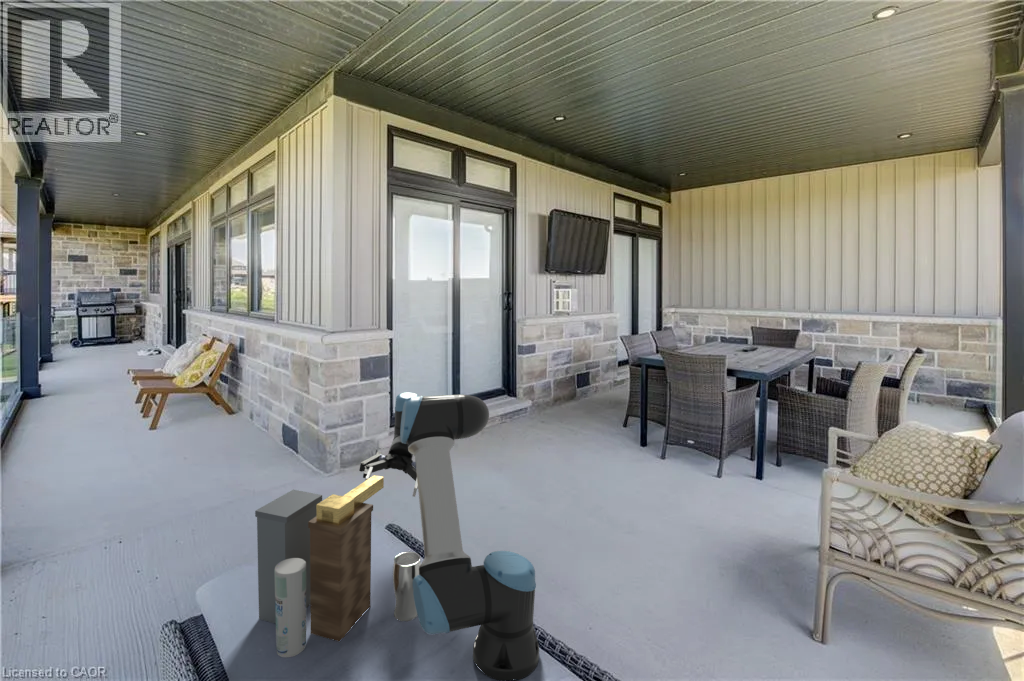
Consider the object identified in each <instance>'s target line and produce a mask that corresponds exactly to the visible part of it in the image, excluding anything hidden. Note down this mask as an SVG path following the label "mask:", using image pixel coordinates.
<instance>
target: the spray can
mask: <svg viewBox="0 0 1024 681" xmlns="http://www.w3.org/2000/svg"><path fill="white" fill-rule="evenodd" d="M274 572H275V615H276V624H275V647H276V648H275V650H276V654H277V655H278V656H279V657H281V658H293V657H295V656H297V655H299V654H301V653H302V652H303V651H304V650H305V648H306V645H307V608H306V562H305V561H304V560H303V559H300V558H290V559H286V560H283V561H281V562H280V563H278V564H277V565H276V566H275V570H274Z"/></svg>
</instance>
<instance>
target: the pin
mask: <svg viewBox="0 0 1024 681" xmlns="http://www.w3.org/2000/svg"><path fill="white" fill-rule="evenodd" d="M384 478H385V477H384V476H381V475H371V477H370V478H369V479H368V480H366V481H365V480H364V481H363V482H362V483H360V484H359V485H357V486H356V487H354V488H352V489H351V490H350V491H348V492H347V493H345V494H343V495H338V494H334V493H333V494H331V495H329V496H328V497H326V498H325V499H322V501H321V502H320V503H318V504H317V505H316V510H317V521H319V522H324V523H329V524H333V525H338V526H339V525H340V524H342V523H343V522H344V521H346V520H347V519H348V518H350V517H351V516H352V515H354V509H355V508H356V507H358V506H359V505H360V504H362V503H365V502H366V501H368V500H369V499H370V498H372V496H374V495H375V494H377V493H378V492H379V491H381V490H382V489H384V487H385V486H384V485H385V483H384V480H385V479H384Z"/></svg>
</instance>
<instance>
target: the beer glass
mask: <svg viewBox="0 0 1024 681" xmlns="http://www.w3.org/2000/svg"><path fill="white" fill-rule="evenodd" d="M421 563H422V562H421V555H420V554H419V553H417V552H414V551H403V552H401V553H398V554H397V555H395V557H394V558H393V566H392V583H393V584H392V586H393V590H394V596H395V606H394V610H393V617H394V619H396V620H397V619H398V620H397V621H399V620H400V621H399V622H403V621H406V622H411V621H413V620H414V619H416V618H417V617H418V615H417V611H416V607H415V601H414V595H413V579H414V577H416V576H417V575H419V566H420V565H421Z"/></svg>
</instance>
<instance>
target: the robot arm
mask: <svg viewBox="0 0 1024 681" xmlns="http://www.w3.org/2000/svg"><path fill="white" fill-rule="evenodd" d="M394 405H395V406H394V428H393V429H394V432H393V433H394V434H393V439H392V442H391V444H390V448H389V450H388V453H387V454H386V455H383V454H382V452H381V451H377V452H376V454H374V455H372V456H370V457H369V458H367V459H365V460H363V461H361V462H360V465H359V469H358V470H359V472H361V473H362V472H363V474H362V478H363V479H364V482H365V481H366V480H368V479H369V478H371V477H372V473H376V472H379V471H381V470H389V469H392V470H399V471H402V472H403V473H405V474H406V475H409V476H410V478H412V479H413V481H415V483H414V488H413V492H412V498H413V497H414V498H416V494H417V492H418V500H419V501H418V502H419V511H420V512H419V513H420V522H421V530H422V531H421V532H422V543H423V551H424V552H423V553H424V559H423V561H422V562H421V565H420V566H419V575H417V576H416V577H414V579H413V595H414V601H415V607H416V611H417V617H418V620H419V624H420V626H421V628H422V630H423V631H424V632H425V633H426V634H428V635H436V634H448V633H450V632H455V631H459V630H464V629H469V628H474V627H479V626H480V627H479V629H478V633H477V635H476V637H475V639H474V641H473V647H472V648H473V649H472V650H473V651H472V659H473V662H474V664H475V663H476V664H477V666H478V667H479V668H480V669H481V670H482V671H483V672H484V673H485V674H484V675H485V676H486V675H487V677H489V678H491V679H494V680H496V681H497V680H498V681H501V680H502V681H503V680H513V679H518V680H521V679H524V678H525V677H528V676H529V675H530V674H532V673H533V672H534V671H535V669H536V668H537V666H538V664H539V660H540V646H539V644H540V643H539V640H538V638H537V634H536V630H535V628H534V614H535V613H534V612H535V598H536V597H535V596H536V594H535V592H536V588H537V582H536V571H535V566H534V565H533V563H532V562H531V560H529V559H528V558H527V557H526V556H524V555H521V554H519V553H516V552H513V551H510V550H509V551H507V550H497V551H492V552H490V553H489V554H487V555H485V558H484V560H483V564H480V565H475V566H472V558H471V556H470V555H469V554H467V553H466V552H465V551H464V549H463V543H462V542H463V541H462V534H461V526H460V518H459V513H458V504H457V497H456V490H455V482H454V475H453V467H452V461H451V453H450V451H451V450H452V448H453V447H454V446H455V440H462V439H467V438H471V437H474V436H475V435H478V434H479V433H480V432H482V431H483V430H484V429H485V427H486V426H487V424H488V422H489V418H490V411H489V408H488V406H487V404H486V403H485V402H484V401H483V399H481V398H479V397H477V396H475V395H471V394H463V393H462V394H445V395H443V394H442V395H422V394H421V395H420V396H419V394H417V393H416V392H415V393H414V392H410V391H409V392H408V391H407V392H401V393H399V394H397V396H396V397H395V404H394ZM413 457H415V458H414V459H415V461H413ZM417 490H418V491H417ZM477 666H476V667H477Z"/></svg>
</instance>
